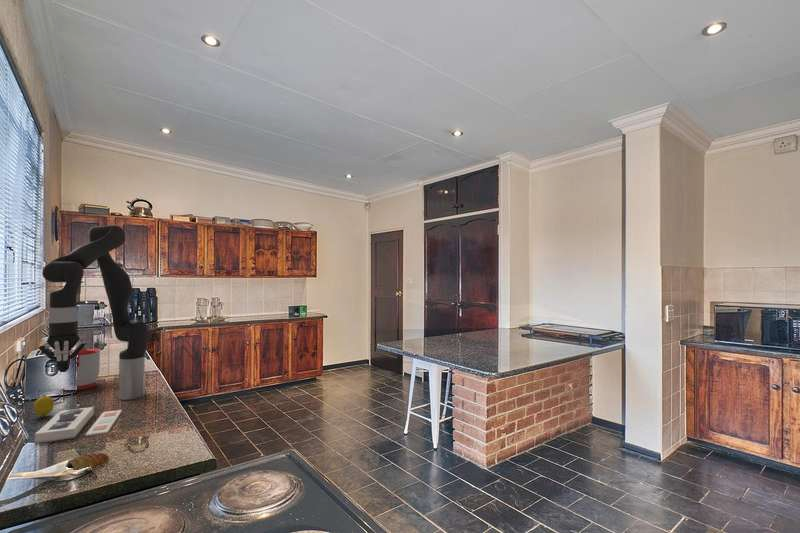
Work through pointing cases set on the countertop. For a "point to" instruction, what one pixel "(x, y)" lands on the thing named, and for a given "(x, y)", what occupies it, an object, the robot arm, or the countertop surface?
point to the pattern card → (104, 423)
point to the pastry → (87, 461)
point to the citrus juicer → (87, 368)
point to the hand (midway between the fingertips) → (63, 371)
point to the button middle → (67, 416)
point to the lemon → (43, 405)
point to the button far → (77, 411)
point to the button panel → (64, 433)
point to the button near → (60, 425)
